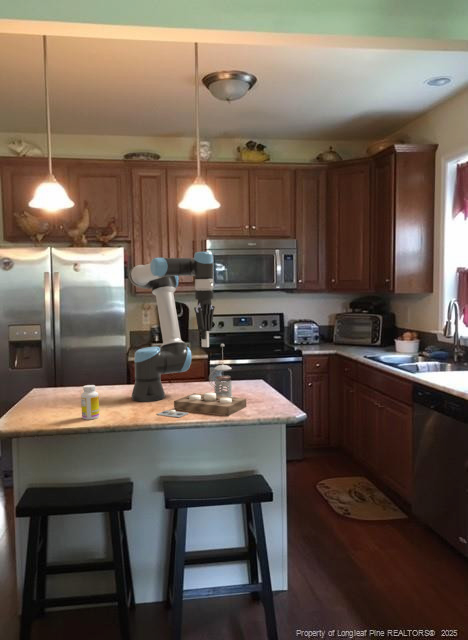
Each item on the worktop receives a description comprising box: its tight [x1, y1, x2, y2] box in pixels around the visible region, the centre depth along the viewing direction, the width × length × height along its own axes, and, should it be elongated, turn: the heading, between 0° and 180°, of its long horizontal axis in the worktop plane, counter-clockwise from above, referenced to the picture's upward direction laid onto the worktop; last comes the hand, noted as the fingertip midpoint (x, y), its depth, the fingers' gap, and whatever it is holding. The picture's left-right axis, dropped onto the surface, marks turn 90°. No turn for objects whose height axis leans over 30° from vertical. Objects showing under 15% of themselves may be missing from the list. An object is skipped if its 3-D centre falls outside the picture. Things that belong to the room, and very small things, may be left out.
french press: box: [208, 343, 234, 397], centre depth 235 cm, size 10×12×25 cm
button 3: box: [220, 398, 232, 404], centre depth 213 cm, size 5×5×3 cm
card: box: [156, 409, 190, 418], centre depth 207 cm, size 11×7×2 cm, turn 63°
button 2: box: [203, 392, 216, 402], centre depth 216 cm, size 5×5×3 cm
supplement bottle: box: [80, 384, 100, 421], centre depth 203 cm, size 7×7×13 cm
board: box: [173, 392, 247, 417], centre depth 216 cm, size 26×16×4 cm, turn 63°
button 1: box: [189, 394, 201, 400], centre depth 220 cm, size 5×5×3 cm
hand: (205, 346), depth 212 cm, fingers closed
